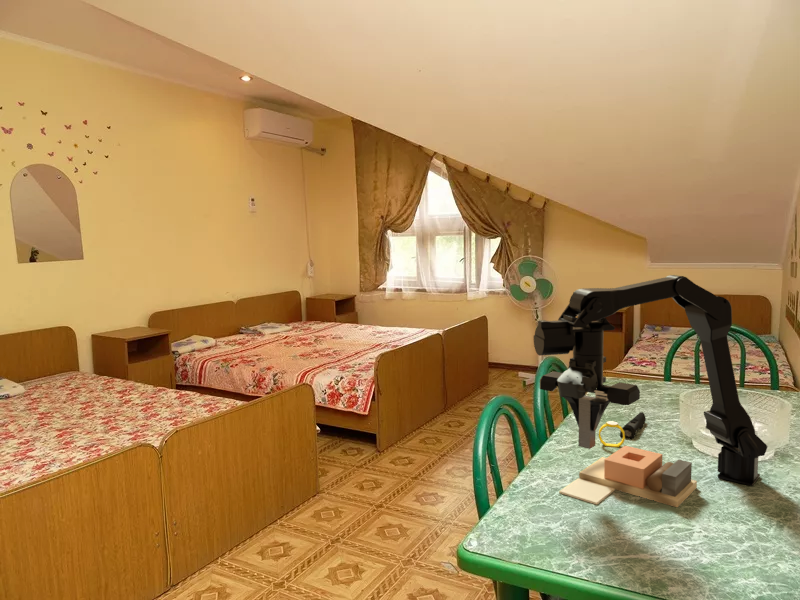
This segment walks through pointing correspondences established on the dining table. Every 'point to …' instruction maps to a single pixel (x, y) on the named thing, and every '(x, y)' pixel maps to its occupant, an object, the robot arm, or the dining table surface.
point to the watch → (612, 424)
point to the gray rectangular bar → (586, 423)
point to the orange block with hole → (632, 466)
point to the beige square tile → (587, 491)
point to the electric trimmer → (633, 426)
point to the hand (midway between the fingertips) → (587, 429)
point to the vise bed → (645, 492)
